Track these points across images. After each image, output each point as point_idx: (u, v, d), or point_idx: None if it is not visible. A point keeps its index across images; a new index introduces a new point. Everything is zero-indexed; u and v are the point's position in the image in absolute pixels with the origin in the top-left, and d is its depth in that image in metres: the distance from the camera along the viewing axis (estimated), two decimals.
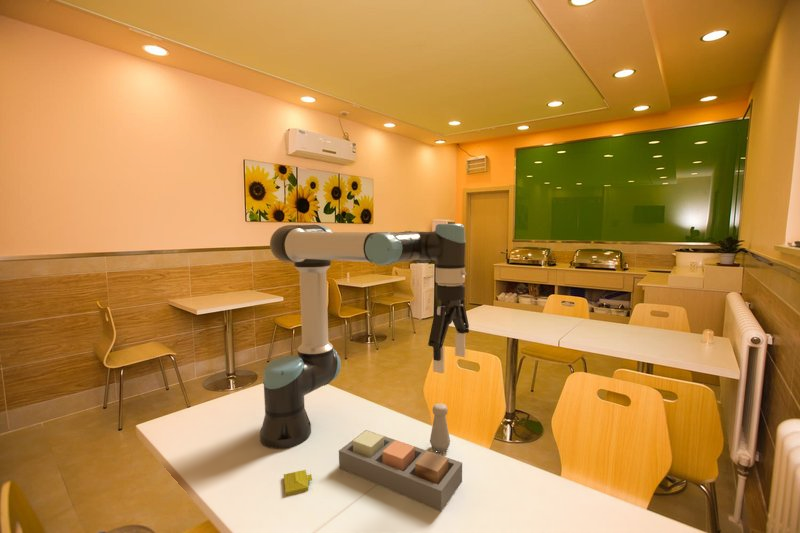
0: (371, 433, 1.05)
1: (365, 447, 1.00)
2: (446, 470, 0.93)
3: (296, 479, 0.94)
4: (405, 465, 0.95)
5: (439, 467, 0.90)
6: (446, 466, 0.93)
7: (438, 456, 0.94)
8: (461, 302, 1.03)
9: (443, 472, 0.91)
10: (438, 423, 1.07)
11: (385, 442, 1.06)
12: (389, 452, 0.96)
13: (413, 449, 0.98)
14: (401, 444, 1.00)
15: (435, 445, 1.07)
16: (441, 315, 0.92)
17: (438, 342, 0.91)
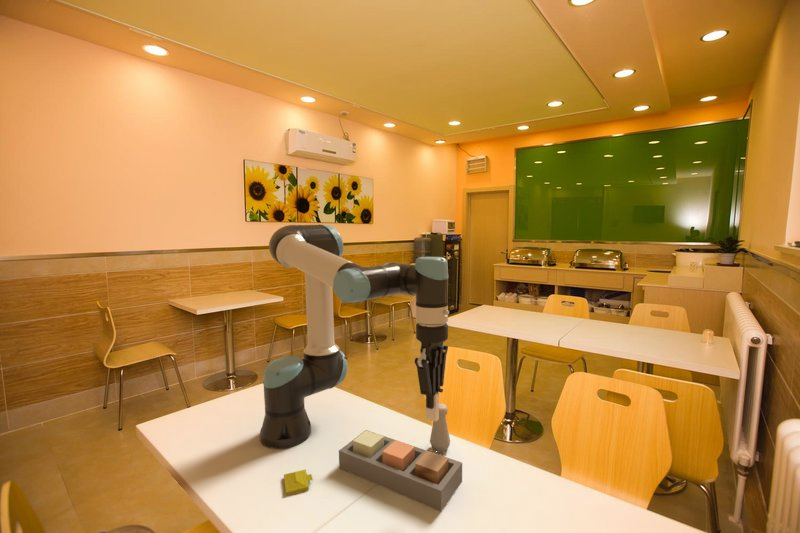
0: (371, 433, 1.05)
1: (365, 447, 1.00)
2: (446, 470, 0.93)
3: (296, 479, 0.94)
4: (405, 465, 0.95)
5: (439, 467, 0.90)
6: (446, 466, 0.93)
7: (438, 456, 0.94)
8: (444, 348, 0.94)
9: (443, 472, 0.91)
10: (438, 423, 1.07)
11: (385, 442, 1.06)
12: (389, 452, 0.96)
13: (413, 449, 0.98)
14: (401, 444, 1.00)
15: (435, 445, 1.07)
16: (424, 368, 0.85)
17: (430, 391, 0.87)
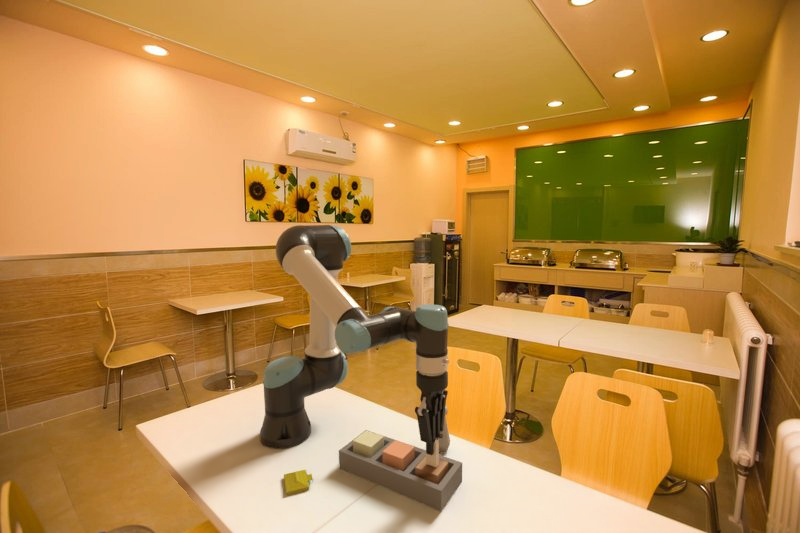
0: (371, 433, 1.05)
1: (365, 447, 1.00)
2: None
3: (297, 479, 0.94)
4: (405, 465, 0.95)
5: (439, 471, 0.90)
6: (446, 470, 0.93)
7: None
8: (444, 393, 0.95)
9: (443, 476, 0.91)
10: None
11: (385, 442, 1.06)
12: (389, 452, 0.96)
13: (413, 449, 0.98)
14: (401, 444, 1.00)
15: None
16: (424, 417, 0.86)
17: (430, 439, 0.88)
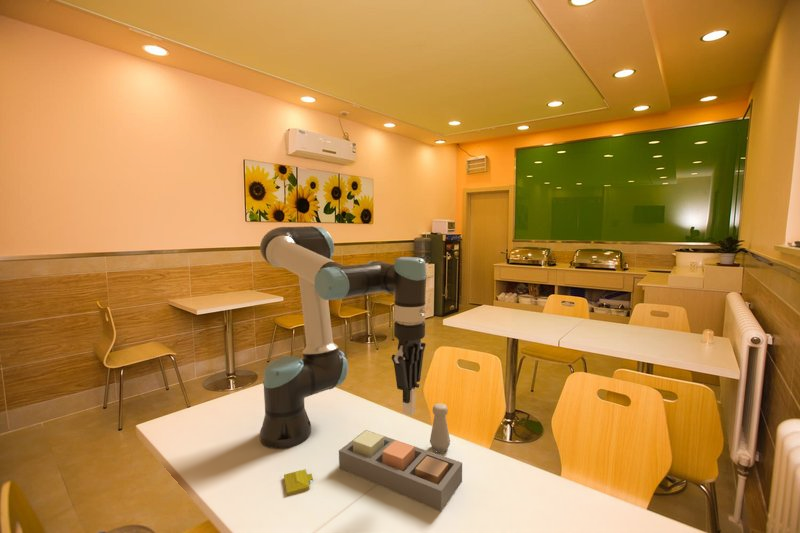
0: (371, 433, 1.05)
1: (365, 447, 1.00)
2: None
3: (297, 479, 0.94)
4: (405, 465, 0.95)
5: (439, 472, 0.90)
6: (446, 471, 0.93)
7: (438, 461, 0.95)
8: (421, 345, 0.97)
9: (443, 477, 0.91)
10: (438, 423, 1.07)
11: (385, 442, 1.06)
12: (389, 452, 0.96)
13: (413, 449, 0.98)
14: (401, 444, 1.00)
15: (435, 445, 1.07)
16: (400, 364, 0.88)
17: (406, 387, 0.91)
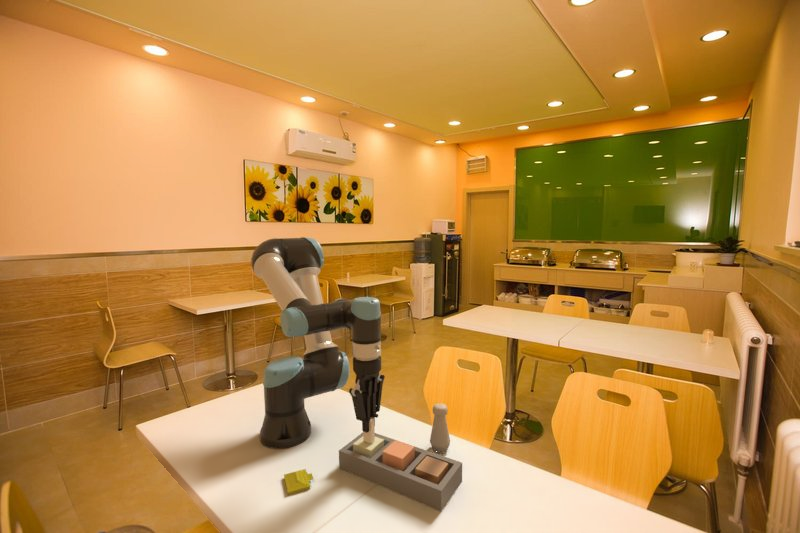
0: None
1: (365, 450, 1.00)
2: None
3: (297, 479, 0.94)
4: (405, 465, 0.95)
5: (439, 472, 0.90)
6: (446, 471, 0.93)
7: (438, 461, 0.95)
8: (380, 377, 1.05)
9: (443, 477, 0.91)
10: (438, 423, 1.07)
11: (385, 442, 1.06)
12: (389, 452, 0.96)
13: (413, 449, 0.98)
14: (401, 444, 1.00)
15: (435, 445, 1.07)
16: (357, 397, 0.96)
17: (364, 417, 0.98)
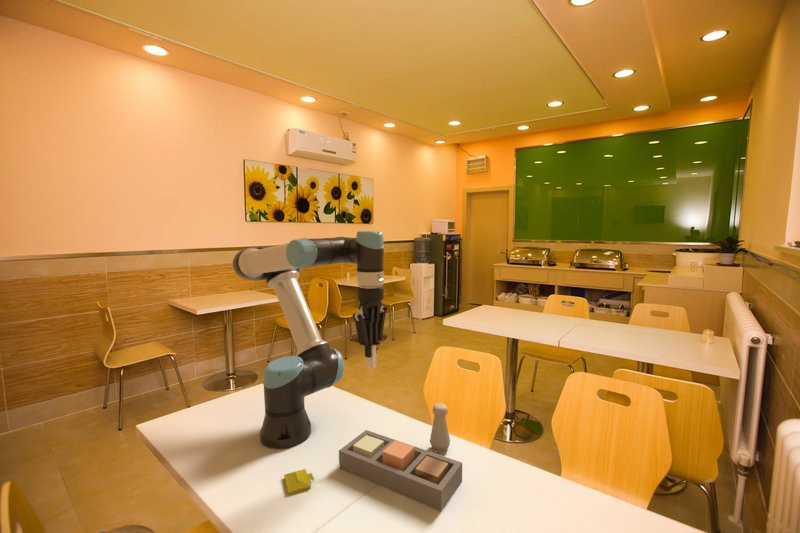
0: (371, 438, 1.05)
1: (365, 452, 1.00)
2: None
3: (298, 479, 0.94)
4: (405, 465, 0.95)
5: (439, 472, 0.90)
6: (446, 471, 0.93)
7: (438, 461, 0.95)
8: (383, 309, 1.11)
9: (443, 477, 0.91)
10: (438, 423, 1.07)
11: (385, 442, 1.06)
12: (389, 452, 0.96)
13: (413, 449, 0.98)
14: (401, 444, 1.00)
15: (435, 445, 1.07)
16: (360, 322, 1.03)
17: (366, 342, 1.05)
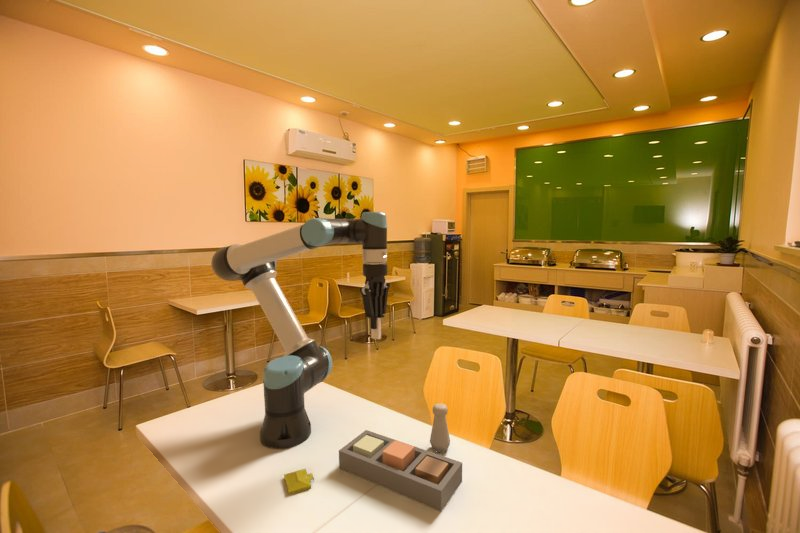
0: (371, 438, 1.05)
1: (365, 452, 1.00)
2: None
3: (298, 479, 0.94)
4: (405, 465, 0.95)
5: (439, 472, 0.90)
6: (446, 471, 0.93)
7: (438, 461, 0.95)
8: (386, 285, 1.21)
9: (443, 477, 0.91)
10: (438, 423, 1.07)
11: (385, 442, 1.06)
12: (389, 452, 0.96)
13: (413, 449, 0.98)
14: (401, 444, 1.00)
15: (435, 445, 1.07)
16: (367, 295, 1.12)
17: (372, 314, 1.14)
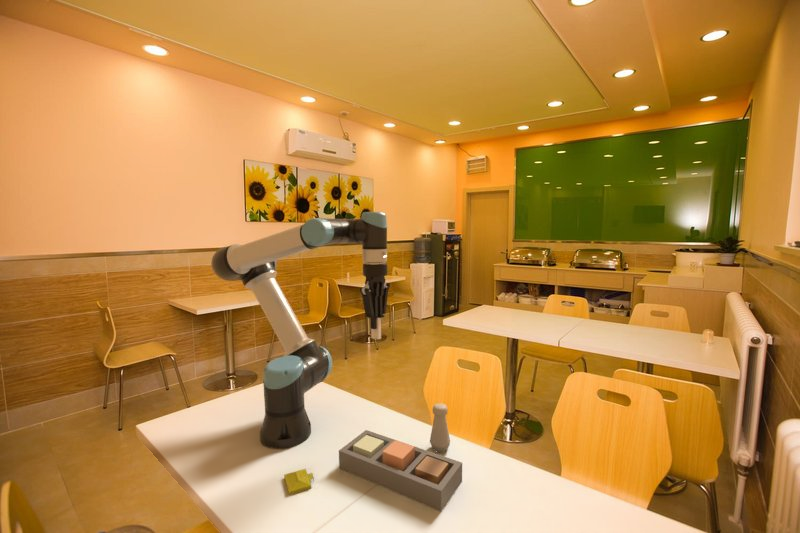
0: (371, 438, 1.05)
1: (365, 452, 1.00)
2: None
3: (298, 478, 0.94)
4: (405, 465, 0.95)
5: (439, 472, 0.90)
6: (446, 471, 0.93)
7: (438, 461, 0.95)
8: (386, 285, 1.21)
9: (443, 477, 0.91)
10: (438, 423, 1.07)
11: (385, 442, 1.06)
12: (389, 452, 0.96)
13: (413, 449, 0.98)
14: (401, 444, 1.00)
15: (435, 445, 1.07)
16: (367, 295, 1.12)
17: (372, 314, 1.14)
